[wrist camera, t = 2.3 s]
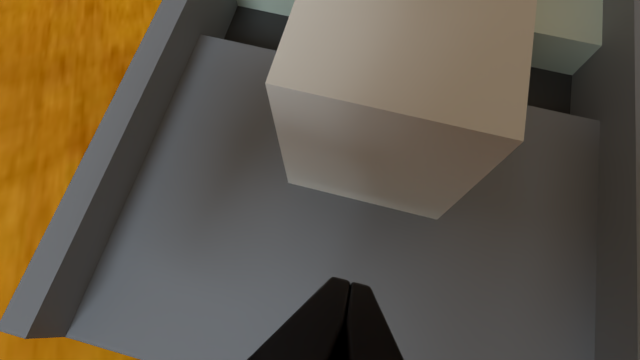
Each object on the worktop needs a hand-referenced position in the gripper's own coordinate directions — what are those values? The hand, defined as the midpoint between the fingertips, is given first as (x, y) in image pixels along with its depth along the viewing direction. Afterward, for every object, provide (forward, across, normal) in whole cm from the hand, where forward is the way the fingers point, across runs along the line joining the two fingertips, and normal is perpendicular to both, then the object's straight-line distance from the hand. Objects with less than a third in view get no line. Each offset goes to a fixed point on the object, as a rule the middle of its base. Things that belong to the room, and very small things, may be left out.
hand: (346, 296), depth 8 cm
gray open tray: (+13, 0, -1) cm, 13 cm away
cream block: (+9, 0, -1) cm, 9 cm away
